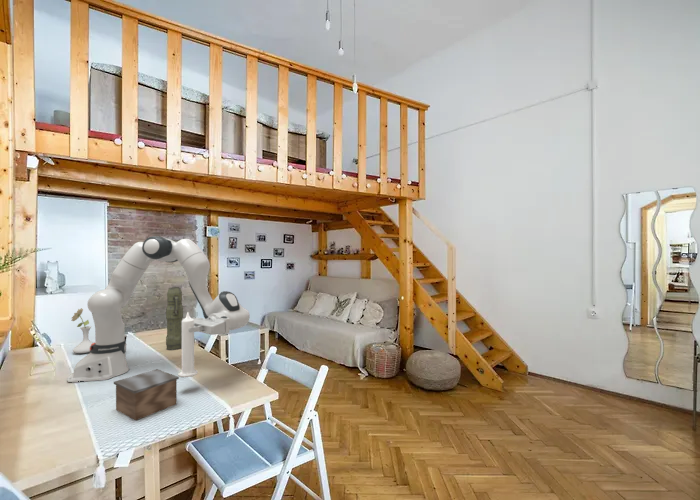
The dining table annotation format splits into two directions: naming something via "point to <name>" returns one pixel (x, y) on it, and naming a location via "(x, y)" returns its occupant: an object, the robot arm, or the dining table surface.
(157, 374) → the walnut pedestal
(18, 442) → the dining table surface
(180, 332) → the thermos
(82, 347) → the flower in vase
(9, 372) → the dining table surface
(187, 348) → the candle
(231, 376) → the dining table surface
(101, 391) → the dining table surface
